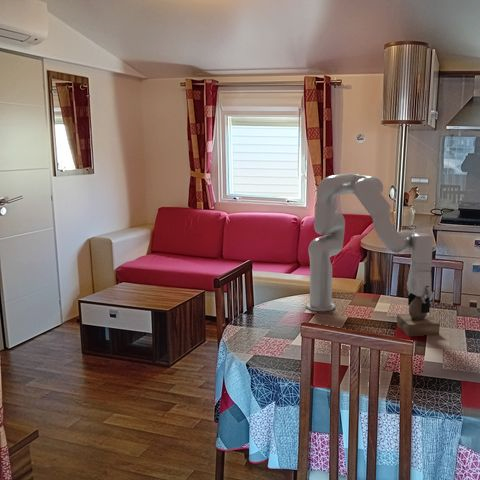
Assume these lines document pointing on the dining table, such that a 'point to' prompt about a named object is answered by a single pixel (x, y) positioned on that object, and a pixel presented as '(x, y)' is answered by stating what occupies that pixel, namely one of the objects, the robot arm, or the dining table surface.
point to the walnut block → (417, 325)
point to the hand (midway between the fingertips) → (418, 308)
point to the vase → (416, 309)
